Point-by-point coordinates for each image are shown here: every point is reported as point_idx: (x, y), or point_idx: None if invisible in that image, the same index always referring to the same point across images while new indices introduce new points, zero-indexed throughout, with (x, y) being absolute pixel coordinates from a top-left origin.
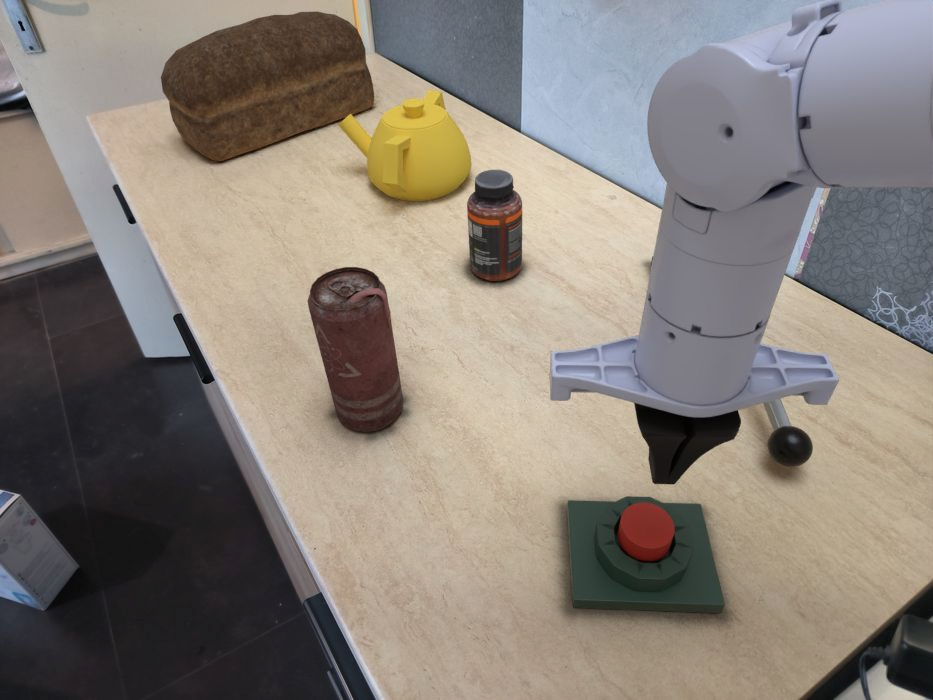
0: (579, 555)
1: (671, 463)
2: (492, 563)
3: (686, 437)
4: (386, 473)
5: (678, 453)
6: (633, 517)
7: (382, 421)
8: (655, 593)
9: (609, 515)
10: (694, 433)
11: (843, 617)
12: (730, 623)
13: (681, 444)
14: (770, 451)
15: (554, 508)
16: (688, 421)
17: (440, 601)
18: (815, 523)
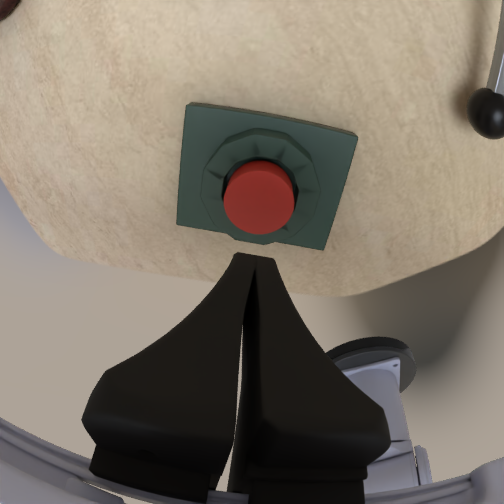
0: (188, 180)
1: (244, 338)
2: (107, 164)
3: (234, 444)
4: (15, 64)
5: (242, 380)
6: (243, 191)
7: (2, 13)
8: None
9: (222, 160)
10: (227, 491)
11: (417, 259)
12: (325, 249)
13: (240, 404)
14: (469, 109)
15: (176, 100)
16: (233, 468)
17: (70, 198)
18: (458, 176)
